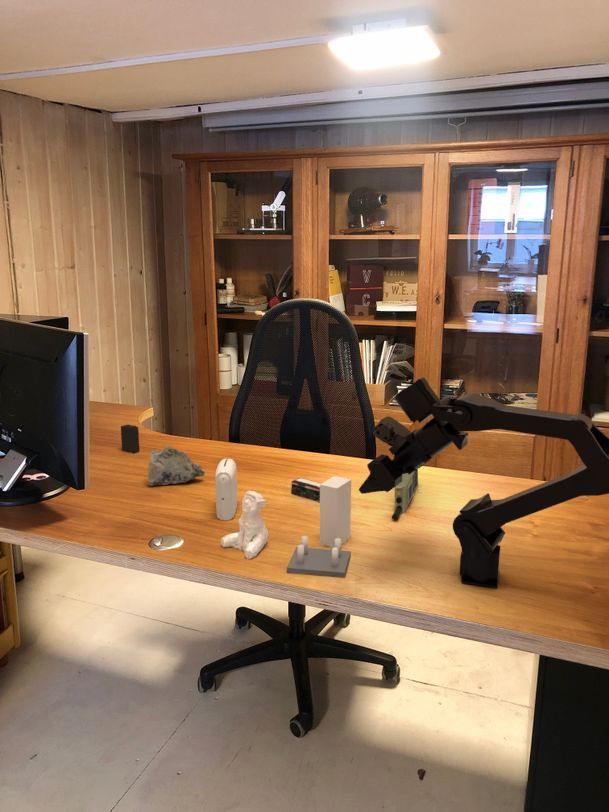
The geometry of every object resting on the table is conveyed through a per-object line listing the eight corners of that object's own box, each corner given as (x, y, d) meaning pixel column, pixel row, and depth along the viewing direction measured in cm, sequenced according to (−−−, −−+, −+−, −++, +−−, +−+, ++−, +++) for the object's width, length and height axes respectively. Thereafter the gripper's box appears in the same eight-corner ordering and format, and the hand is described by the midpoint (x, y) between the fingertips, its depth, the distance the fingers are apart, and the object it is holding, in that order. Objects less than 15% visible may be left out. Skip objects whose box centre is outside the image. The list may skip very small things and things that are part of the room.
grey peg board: (350, 555, 133) (350, 534, 132) (344, 577, 124) (345, 555, 123) (296, 551, 135) (296, 530, 134) (286, 572, 126) (286, 550, 125)
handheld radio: (419, 486, 171) (402, 523, 148) (407, 485, 172) (387, 522, 149) (419, 461, 170) (402, 495, 147) (406, 460, 171) (387, 494, 148)
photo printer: (234, 520, 150) (232, 468, 147) (215, 520, 150) (213, 468, 147) (239, 503, 160) (237, 454, 157) (221, 503, 160) (219, 454, 157)
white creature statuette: (218, 546, 137) (216, 491, 134) (249, 533, 143) (248, 480, 140) (249, 560, 131) (248, 503, 128) (280, 546, 137) (280, 491, 134)
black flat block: (339, 520, 151) (339, 502, 150) (257, 495, 166) (256, 479, 165) (373, 500, 162) (373, 484, 161) (293, 479, 178) (293, 464, 176)
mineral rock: (207, 480, 175) (205, 444, 173) (183, 494, 166) (181, 455, 163) (167, 473, 180) (165, 438, 178) (141, 486, 171) (139, 449, 169)
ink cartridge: (139, 451, 199) (138, 426, 197) (134, 454, 198) (133, 428, 196) (127, 449, 202) (126, 423, 200) (122, 451, 200) (120, 425, 198)
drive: (350, 537, 141) (351, 479, 138) (336, 548, 136) (337, 488, 133) (333, 533, 143) (334, 476, 140) (319, 543, 138) (319, 484, 135)
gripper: (420, 397, 133) (366, 439, 141) (380, 417, 117) (323, 464, 125) (454, 442, 131) (398, 482, 139) (419, 469, 115) (358, 513, 124)
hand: (370, 484), depth 132 cm, fingers open, 9 cm apart
